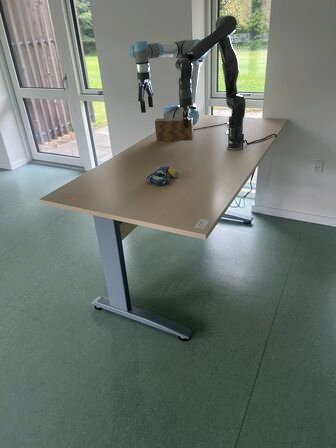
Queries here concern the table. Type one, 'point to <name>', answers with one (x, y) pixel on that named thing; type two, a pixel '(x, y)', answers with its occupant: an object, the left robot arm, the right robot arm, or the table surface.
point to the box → (173, 129)
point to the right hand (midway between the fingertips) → (187, 126)
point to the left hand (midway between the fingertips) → (147, 109)
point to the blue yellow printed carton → (162, 175)
